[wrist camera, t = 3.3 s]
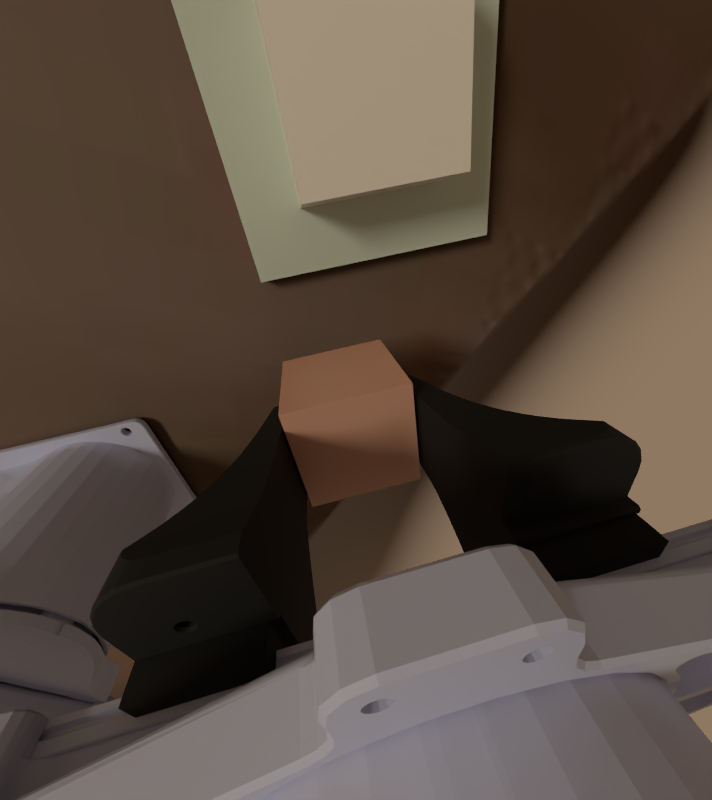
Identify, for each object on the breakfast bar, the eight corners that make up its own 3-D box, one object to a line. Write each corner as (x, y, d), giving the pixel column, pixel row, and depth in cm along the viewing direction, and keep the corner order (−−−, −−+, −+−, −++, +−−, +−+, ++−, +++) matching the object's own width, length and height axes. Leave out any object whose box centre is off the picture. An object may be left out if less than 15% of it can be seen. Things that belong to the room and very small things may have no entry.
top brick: (308, 438, 14) (312, 507, 11) (282, 361, 12) (278, 415, 9) (390, 418, 14) (420, 479, 11) (379, 339, 12) (412, 383, 9)
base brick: (300, 208, 13) (301, 204, 10) (250, -13, 10) (234, -99, 7) (436, 181, 13) (470, 171, 11) (430, -40, 10) (478, -131, 7)
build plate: (262, 280, 15) (261, 282, 14) (138, -115, 9) (125, -143, 8) (478, 234, 15) (486, 234, 15) (493, -158, 9) (509, -188, 9)
